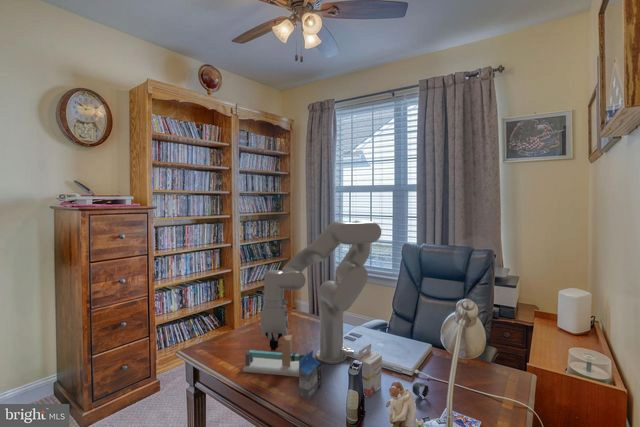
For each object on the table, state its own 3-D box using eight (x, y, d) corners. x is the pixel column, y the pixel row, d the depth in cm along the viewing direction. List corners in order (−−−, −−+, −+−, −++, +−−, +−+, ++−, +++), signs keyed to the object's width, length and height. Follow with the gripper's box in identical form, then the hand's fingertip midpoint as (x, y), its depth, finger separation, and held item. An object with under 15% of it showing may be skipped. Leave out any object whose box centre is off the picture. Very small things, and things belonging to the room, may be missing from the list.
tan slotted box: (292, 360, 128) (292, 335, 128) (289, 366, 124) (289, 340, 123) (285, 360, 129) (285, 334, 128) (282, 365, 125) (282, 339, 124)
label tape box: (309, 400, 108) (309, 363, 107) (298, 396, 110) (298, 360, 109) (321, 386, 115) (322, 352, 115) (312, 383, 117) (312, 349, 116)
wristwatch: (412, 397, 109) (412, 382, 109) (425, 395, 110) (426, 380, 110) (416, 402, 106) (417, 387, 106) (430, 400, 107) (431, 385, 107)
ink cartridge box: (369, 399, 108) (369, 355, 107) (356, 393, 111) (357, 351, 110) (382, 387, 115) (382, 346, 114) (369, 382, 118) (370, 342, 117)
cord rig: (308, 364, 130) (308, 347, 129) (304, 377, 121) (304, 358, 120) (251, 359, 134) (251, 342, 133) (242, 371, 125) (242, 353, 124)
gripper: (295, 300, 128) (295, 346, 129) (258, 298, 131) (258, 343, 132) (290, 307, 121) (290, 355, 122) (252, 304, 123) (252, 352, 124)
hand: (274, 349), depth 127 cm, fingers closed
